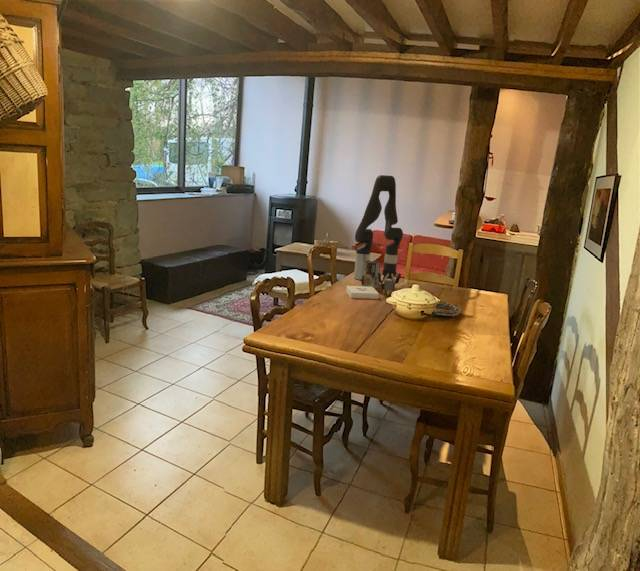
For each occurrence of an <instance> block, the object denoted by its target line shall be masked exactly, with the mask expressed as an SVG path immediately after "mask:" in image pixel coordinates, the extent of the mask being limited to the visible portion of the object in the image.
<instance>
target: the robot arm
mask: <svg viewBox="0 0 640 571" xmlns="http://www.w3.org/2000/svg"><path fill="white" fill-rule="evenodd" d="M396 186H397V184H396V179H395V177H394V176H393V175H387V174H386V175H384V174H382V175H381V174H380V175H378V176H377V177H376V179H375V181H374V184H373V188H372V192H371V195H370V198H369V200H368V203H367V205H366V208H365V210H364V212H363V213H364V214H363V217H362V218H361V221H360V223H359V225H358V227H357V229H356V231H355V234H354V240H355V242H357V243H359V244H362V245H361V246H359V247H357V248H356V250H355V252H356V253H355V262H354V272H353V273H354V274H353V278H354V279H355V280H360V281H362V273H363V262H364V261H367V260H370V258H371V252H372V248H373V246H372V245H373V241H374V239H373V238H374V232H373V229H371V228H368V227H370V226H371V225H372V224H373V223H375V222H376V221H377V220H379V219H378V218H379V217H380V214H381V213H382V209H383V207H382V203H381V198H380V195H381V192H388V200H387V202H386V203H385V206H384V210H383V212H384V220H385V224H384V233H383V234H384V235H383V236H384V237H385V239H386V240H388V241H392V242H391V243H387V244H386V246H385V253H384V258H383V259H384V260H383V266H382V267H383V268H382V271H381V272H378V281H379V283H380V289H381V290H382V291H383V290H384V283H385V281H386V280H391V281H392V282H393V283H394V287H393V290H395V286H396V284H398V283H399V282H400V279H401V275H402V274H401V273H400V272H397V266H398V254H399V253H398V252H399V247H400V245H401V242H402V241H403V240H402V239H403V237H404V231H403V229H402V228H401V227H393V226H394V225H396V224H398V222H399V220H398V214H397V205H396V204H397V200H396V199H397V198H396V197H397V187H396ZM370 261H371V260H370ZM382 275H383V277H382ZM395 278H396V279H395Z"/></svg>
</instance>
